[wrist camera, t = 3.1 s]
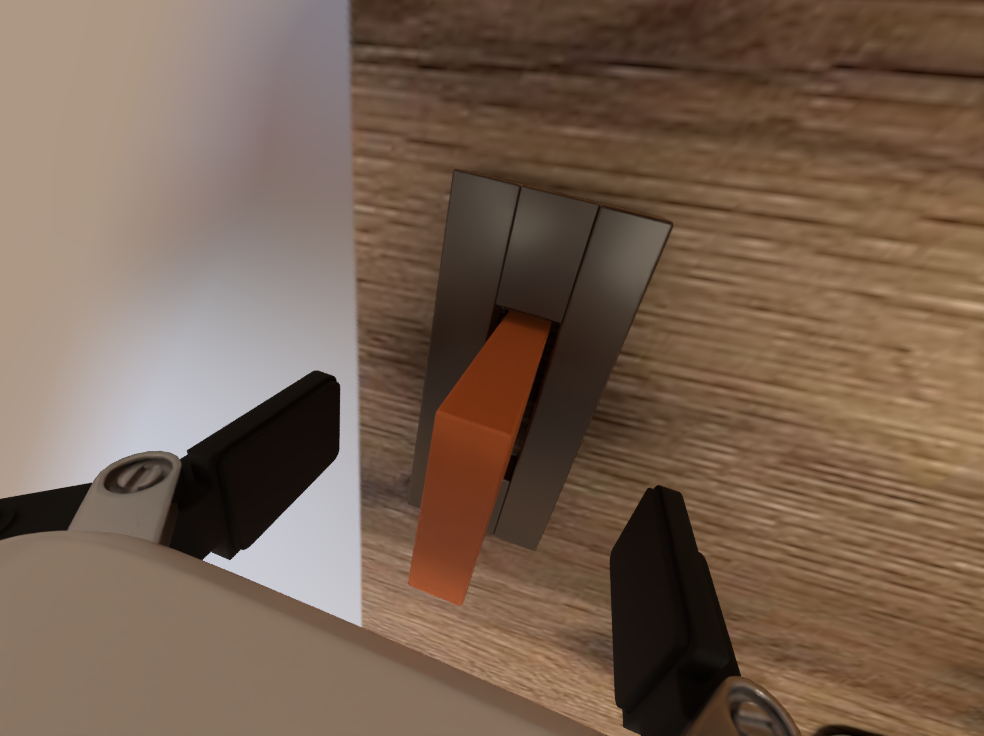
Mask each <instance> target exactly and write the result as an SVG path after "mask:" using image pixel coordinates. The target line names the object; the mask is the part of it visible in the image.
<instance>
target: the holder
mask: <svg viewBox="0 0 984 736" xmlns="http://www.w3.org/2000/svg"><path fill="white" fill-rule="evenodd" d="M672 228H673V222H671V221H669V220H667V219H665V218H662V217H658V216H653V215H649V214H645V213H641V212H637V211H633V210H629V209H625V208H621V207H616V206H612V205H608V204H604V203H601V204H600V205H599V202H596V201H592V200H588V199H584V198H580V197H575V196H571V195H567V194H563V193H559V192H555V191H551V190H547V189H542V188H538V187H534V186H528V185H526V184H522V183H518V182H514V181H509V180H505V179H501V178H497V177H493V176H489V175H485V174H481V173H476V172H472V171H467V170H459V169H454V171H453V177H452V184H451V192H450V199H449V206H448V214H447V221H446V228H445V236H444V243H443V250H442V257H441V265H440V272H439V279H438V287H437V294H436V301H435V309H434V316H433V323H432V330H431V338H430V345H429V352H428V360H427V367H426V374H425V382H424V389H423V396H422V403H421V411H420V418H419V425H418V433H417V440H416V447H415V455H414V462H413V469H412V476H411V484H410V491H409V498H408V504H409V505H412V506H414V507H417V508H420V507H421V501H422V495H423V488H424V482H425V476H426V470H427V464H428V458H429V452H430V445H431V439H432V433H433V427H434V421H435V415H436V411H437V410H438V409H439V407H440V406H441V404H442V403H443V402H444V400H445V399H446V397H447V396H448V395H449V393H450V392H451V391H452V389H453V388H454V386H455V385H456V384H457V382H458V381H459V379H460V378H461V377H462V375H463V374H464V373H465V371H466V370H467V368H468V367H469V366H470V364H471V363H472V361H473V360H474V359H475V357H476V356H477V355H478V353H479V352H480V350H481V349H482V348H483V346H484V345H485V343H486V342H487V341H488V339H489V338H490V337H491V335H492V334H493V332H494V331H495V330H496V328H497V324H498V320H499V315H500V311H501V307H502V306H503V307H507V308H510V309H513V310H517V311H520V312H524V313H527V314H531V315H534V316H538V317H541V318H545V319H548V320H551V321H555V322H558V323H561V324H560V327H559V331H558V334H557V337H556V340H555V343H554V346H553V349H552V352H551V355H550V359H549V362H548V365H547V368H546V371H545V374H544V377H543V380H542V383H541V387H540V390H539V393H538V396H537V399H536V402H535V405H534V408H533V411H532V414H531V418H530V421H529V424H528V427H527V430H526V433H525V436H524V439H523V442H522V446H521V449H520V452H519V455H518V458H517V459H516V458H514V457H510V460H509V463H508V466H507V469H506V472H505V475H504V478H503V481H502V485H501V488H500V491H499V494H498V497H497V500H496V503H495V506H494V509H493V512H492V515H491V518H490V521H489V525H488V528H487V531H486V533H487V534H489V535H493V534H494V536H495V537H498V538H501V539H503V540H506V541H509V542H511V543H514V544H517V545H519V546H522V547H525V548H527V549H530V550H533V551H535V550H536V549H537V547H538V544H539V542H540V540H541V537H542V535H543V532H544V530H545V528H546V525H547V523H548V521H549V518H550V516H551V514H552V511H553V509H554V507H555V504H556V502H557V499H558V497H559V495H560V492H561V490H562V488H563V485H564V483H565V481H566V478H567V476H568V474H569V471H570V469H571V466H572V464H573V462H574V459H575V457H576V455H577V452H578V450H579V448H580V445H581V443H582V441H583V438H584V436H585V433H586V431H587V429H588V426H589V424H590V422H591V419H592V417H593V415H594V412H595V410H596V408H597V405H598V403H599V401H600V398H601V396H602V393H603V391H604V389H605V386H606V384H607V382H608V379H609V377H610V375H611V372H612V370H613V368H614V365H615V363H616V360H617V358H618V356H619V353H620V351H621V349H622V346H623V344H624V342H625V339H626V337H627V335H628V332H629V330H630V327H631V325H632V323H633V320H634V318H635V316H636V313H637V311H638V309H639V306H640V304H641V302H642V299H643V297H644V294H645V292H646V290H647V287H648V285H649V283H650V280H651V278H652V276H653V273H654V271H655V269H656V266H657V264H658V261H659V259H660V257H661V254H662V252H663V250H664V247H665V245H666V243H667V240H668V238H669V236H670V233H671V231H672Z"/></svg>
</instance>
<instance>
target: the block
mask: <svg viewBox="0 0 984 736" xmlns="http://www.w3.org/2000/svg"><path fill="white" fill-rule="evenodd" d="M551 324H552V322H551V321H549V320H545V319H542V318H539V317H535V316H532V315H528V314H525V313H521V312H518V311H514V310H509V312H508V313H507V314H506V316H505V317H504V319H503V320H502V321H501V323H500V324H499V325H498V327H497V328H496V330H495V331H494V332H493V334H492V335H491V337H490V338H489V339H488V341H487V342H486V343H485V345H484V346H483V348H482V349H481V350H480V352H479V353H478V355H477V356H476V357H475V359H474V360H473V361H472V363H471V364H470V366H469V367H468V368H467V370H466V371H465V373H464V374H463V375H462V377H461V378H460V379H459V381H458V382H457V384H456V385H455V386H454V388H453V389H452V391H451V392H450V393H449V395H448V396H447V397H446V399H445V400H444V402H443V403H442V404H441V406H440V407H439V409H438V410H437V411H436V415H435V421H434V427H433V433H432V439H431V445H430V452H429V458H428V464H427V470H426V476H425V482H424V488H423V495H422V501H421V507H420V513H419V519H418V525H417V531H416V538H415V544H414V550H413V556H412V562H411V568H410V575H409V581H408V584H409V585H410V586H412V587H415V588H417V589H420V590H422V591H425V592H427V593H429V594H432V595H434V596H437V597H439V598H442V599H444V600H447V601H449V602H452V603H454V604H457V605H460V606H461V605H462V604H463V602H464V599H465V595H466V592H467V589H468V586H469V583H470V580H471V577H472V574H473V571H474V568H475V565H476V562H477V558H478V555H479V552H480V549H481V546H482V543H483V540H484V537H485V534H486V531H487V528H488V525H489V521H490V518H491V515H492V512H493V509H494V506H495V503H496V500H497V497H498V494H499V491H500V488H501V485H502V481H503V478H504V475H505V472H506V469H507V466H508V463H509V460H510V457H511V454H512V451H513V448H514V444H515V441H516V438H517V435H518V431H519V428H520V425H521V422H522V418H523V415H524V412H525V409H526V405H527V402H528V399H529V396H530V392H531V389H532V386H533V383H534V379H535V376H536V373H537V370H538V367H539V363H540V360H541V357H542V354H543V350H544V347H545V344H546V341H547V337H548V334H549V331H550V328H551Z"/></svg>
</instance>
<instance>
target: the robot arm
mask: <svg viewBox="0 0 984 736" xmlns="http://www.w3.org/2000/svg"><path fill="white" fill-rule="evenodd" d="M339 437H340V384H339V383H338V382H337V381H336V378H335V377H334V376H332V375H329V374H326V373H323V372H321V371H313V372H311V373H309V374H308V375H306V376H305V377H303V378H301V379H300V380H298V381H297V382H295V383H293V384H292V385H290V386H289V387H287V388H286V389H284V390H282V391H281V392H279V393H278V394H276V395H274V396H273V397H271V398H270V399H268V400H266V401H265V402H263V403H262V404H260V405H258V406H257V407H255V408H254V409H252V410H251V411H249V412H247V413H246V414H244V415H243V416H241V417H239V418H238V419H236V420H235V421H233V422H231V423H230V424H228V425H227V426H225V427H223V428H222V429H220V430H219V431H217V432H215V433H214V434H212V435H211V436H209V437H207V438H206V439H204V440H203V441H201V442H200V443H198V444H196V445H195V446H193V447H192V448H190V449H188V450H187V453H188V455H186V456H184V457H183V458H181V459H179V458H178V457H177V456H176V455H174V454H172V453H169V452H163V451H148V452H143V453H138V454H134V455H131V456H128V457H125V458H122V459H120V460H118V461H116V462H114V463H112V464H110V465H109V466H108V467H106V468H105V469H104V470H102V471H101V472H100V473H99V475H98V476H97V477H96V478H95V480H94V481H93V483H88V484H82V485H77V486H71V487H65V488H59V489H54V490H48V491H43V492H37V493H31V494H25V495H20V496H15V497H8V498H3V499H0V736H607V735H605V734H603V733H601V732H598V731H596V730H594V729H592V728H590V727H587V726H585V725H583V724H581V723H579V722H577V721H574V720H572V719H570V718H568V717H566V716H563V715H561V714H559V713H557V712H555V711H553V710H550V709H548V708H546V707H544V706H542V705H539V704H537V703H535V702H532V701H530V700H528V699H525V698H523V697H521V696H519V695H516V694H514V693H512V692H509V691H507V690H505V689H503V688H500V687H498V686H496V685H493V684H491V683H489V682H486V681H484V680H482V679H480V678H477V677H475V676H473V675H470V674H468V673H466V672H464V671H461V670H459V669H457V668H454V667H452V666H450V665H448V664H445V663H443V662H441V661H438V660H436V659H434V658H431V657H429V656H427V655H424V654H422V653H420V652H417V651H415V650H413V649H410V648H408V647H406V646H403V645H401V644H399V643H397V642H394V641H392V640H390V639H387V638H385V637H383V636H380V635H378V634H376V633H373V632H371V631H369V630H366V629H364V628H362V627H359V626H357V625H354V624H352V623H350V622H347V621H345V620H343V619H341V618H338V617H336V616H334V615H331V614H329V613H327V612H324V611H322V610H320V609H317V608H315V607H313V606H310V605H308V604H305V603H303V602H301V601H298V600H296V599H293V598H291V597H289V596H287V595H284V594H282V593H279V592H277V591H275V590H272V589H270V588H268V587H265V586H263V585H260V584H258V583H256V582H253V581H251V580H249V579H246V578H244V577H242V576H239V575H237V574H234V573H232V572H229V571H227V570H225V569H222V568H220V567H217V566H215V565H212V564H210V563H207V562H205V561H203V559H204V558H205V557H206V556H207V555H208V554H209V553H210V552H211V551H212V553H214V554H217V555H219V556H222V557H224V558H226V559H229V560H231V559H232V558H233V557H234V556H235V555H236V554H237V553H238V552H239V551H240V550H244V549H247V548H249V547H250V546H251V545H252V544H253V543H254V542H255V541H256V540H257V539H258V538H259V537H260V536H261V535H262V534H263V533H264V532H265V531H266V530H267V529H268V528H269V527H270V526H271V525H272V524H273V522H274V521H275V520H276V519H277V518H278V517H279V516H280V515H281V514H282V513H283V512H284V511H285V510H286V509H287V508H288V507H289V506H290V505H291V504H292V503H293V502H294V501H295V500H296V499H297V498H298V497H299V496H300V495H301V494H302V493H303V492H304V491H305V490H306V489H307V488H308V487H309V486H310V485H311V484H312V483H313V482H314V481H315V480H316V479H317V477H319V476H320V474H322V472H323V471H324V470H325V469H326V468H327V467H328V466H329V465H330V464H331V463H332V462H333V461H334V460H335V459H336V457H337V455H338V453H339ZM610 582H611V608H612V634H613V661H614V687H615V701H616V705H617V707H619V708H621V709H622V712H623V727H624V728H626V729H628V730H631V731H633V732H635V733H638V734H640V735H641V736H802V735H801V732H800V730H799V729H798V727H797V725H796V724H795V722H794V721H793V719H792V718H791V716H790V714H789V713H788V712H787V711H786V709H785V708H784V707H783V706H782V705H781V704H780V702H779V701H778V700H777V699H776V698H775V697H774V696H773V695H772V694H770V693H769V692H768V691H767V690H766V689H765V688H764V687H762V686H760V685H759V684H757V683H755V682H754V681H752V680H750V679H747V678H744V677H741V674H740V671H739V668H738V664H737V661H736V658H735V654H734V651H733V648H732V644H731V641H730V638H729V634H728V631H727V628H726V624H725V621H724V618H723V614H722V611H721V608H720V605H719V601H718V598H717V595H716V591H715V588H714V585H713V581H712V578H711V575H710V571H709V568H708V565H707V562H706V560H705V557H704V556H703V555H702V554H701V553H700V552H698V548H697V545H696V541H695V538H694V534H693V531H692V527H691V524H690V520H689V517H688V513H687V510H686V506H685V503H684V499H683V496H682V494H681V493H680V492H678V491H675V490H672V489H669V488H666V487H663V486H660V485H657V486H656V487H655V488H654V489H652V488H648V489H647V490H646V492H645V494H644V495H643V497H642V499H641V500H640V502H639V504H638V506H637V507H636V509H635V511H634V513H633V514H632V516H631V518H630V520H629V521H628V523H627V525H626V527H625V528H624V530H623V532H622V533H621V535H620V537H619V539H618V540H617V542H616V544H615V546H614V547H613V549H612V552H611V556H610Z"/></svg>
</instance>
